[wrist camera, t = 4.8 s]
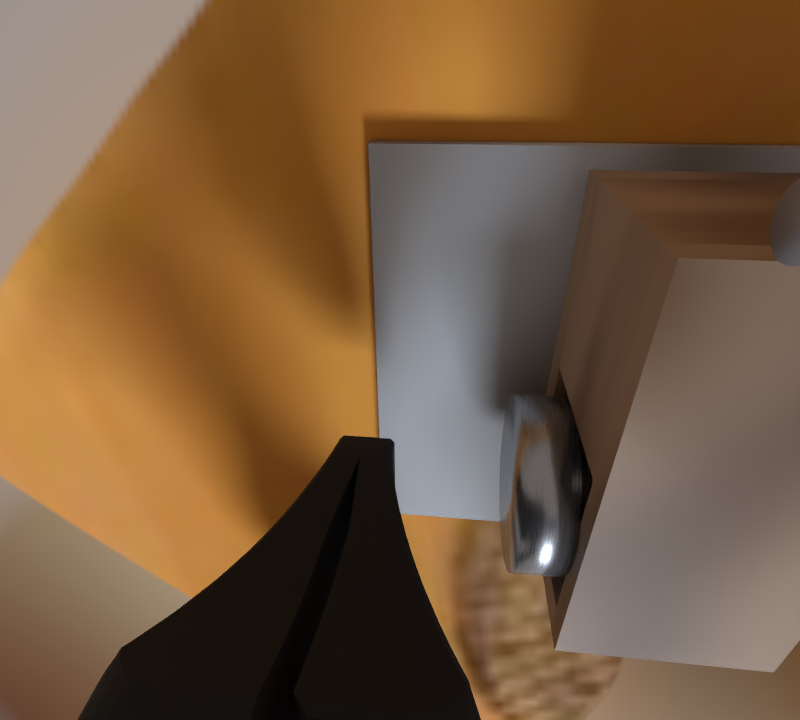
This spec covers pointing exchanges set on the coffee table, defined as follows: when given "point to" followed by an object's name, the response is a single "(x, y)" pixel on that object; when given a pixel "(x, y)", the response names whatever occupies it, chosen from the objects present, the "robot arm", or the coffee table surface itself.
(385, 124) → the coffee table surface
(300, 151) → the coffee table surface
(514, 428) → the pin
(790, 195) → the block
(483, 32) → the coffee table surface
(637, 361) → the block
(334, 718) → the robot arm
